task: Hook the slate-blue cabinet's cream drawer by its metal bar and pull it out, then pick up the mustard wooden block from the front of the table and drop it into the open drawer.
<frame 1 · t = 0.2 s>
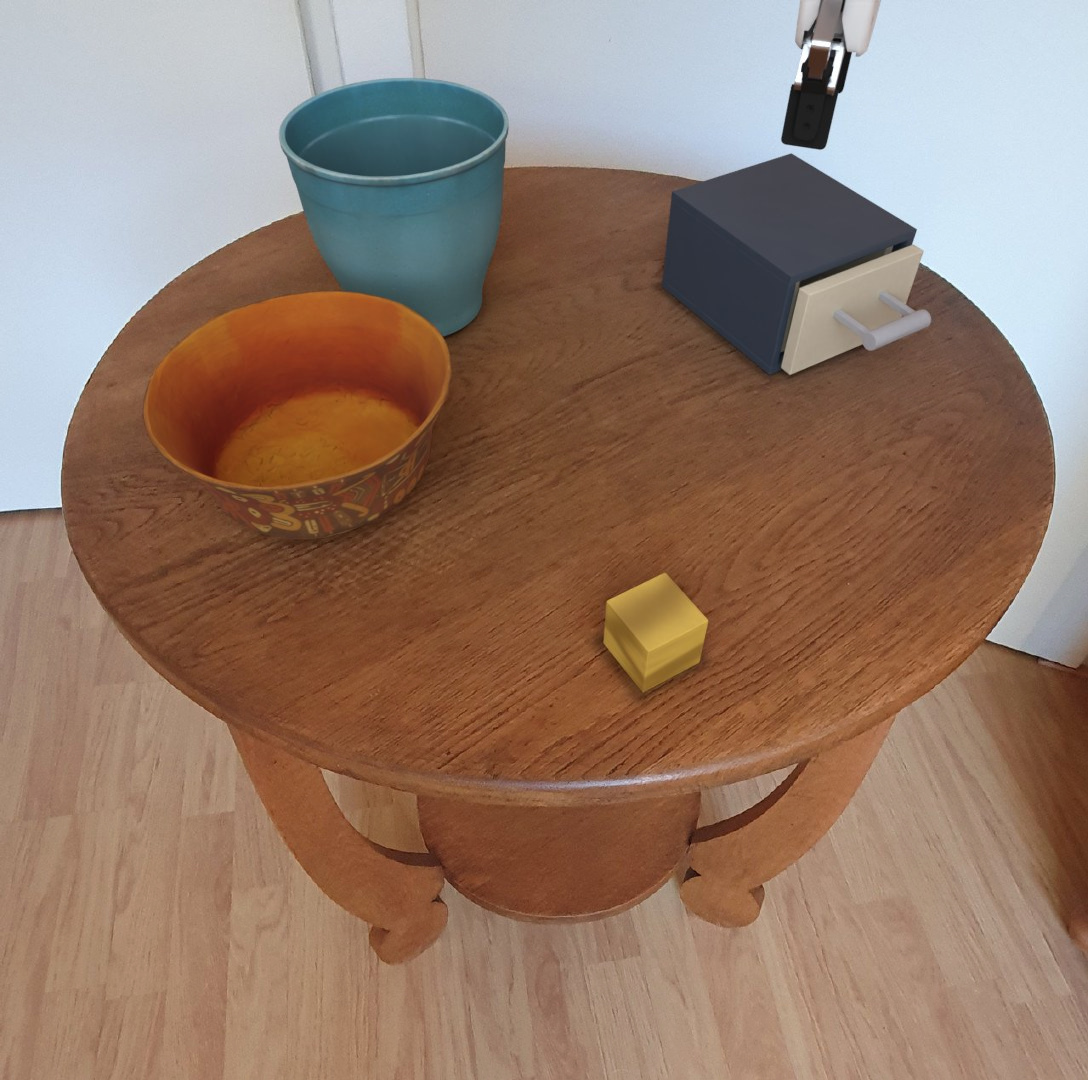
hand: (812, 116, 71), 19 cm above the table, tool pointing down, fingers open, 9 cm apart
drawer: (817, 285, 81), point 5 cm above the table, slide at 0.5 cm
block: (651, 652, 61), on the table
cabinet: (771, 306, 87), on the table
bowl: (324, 480, 72), on the table
flower pot: (416, 307, 87), on the table
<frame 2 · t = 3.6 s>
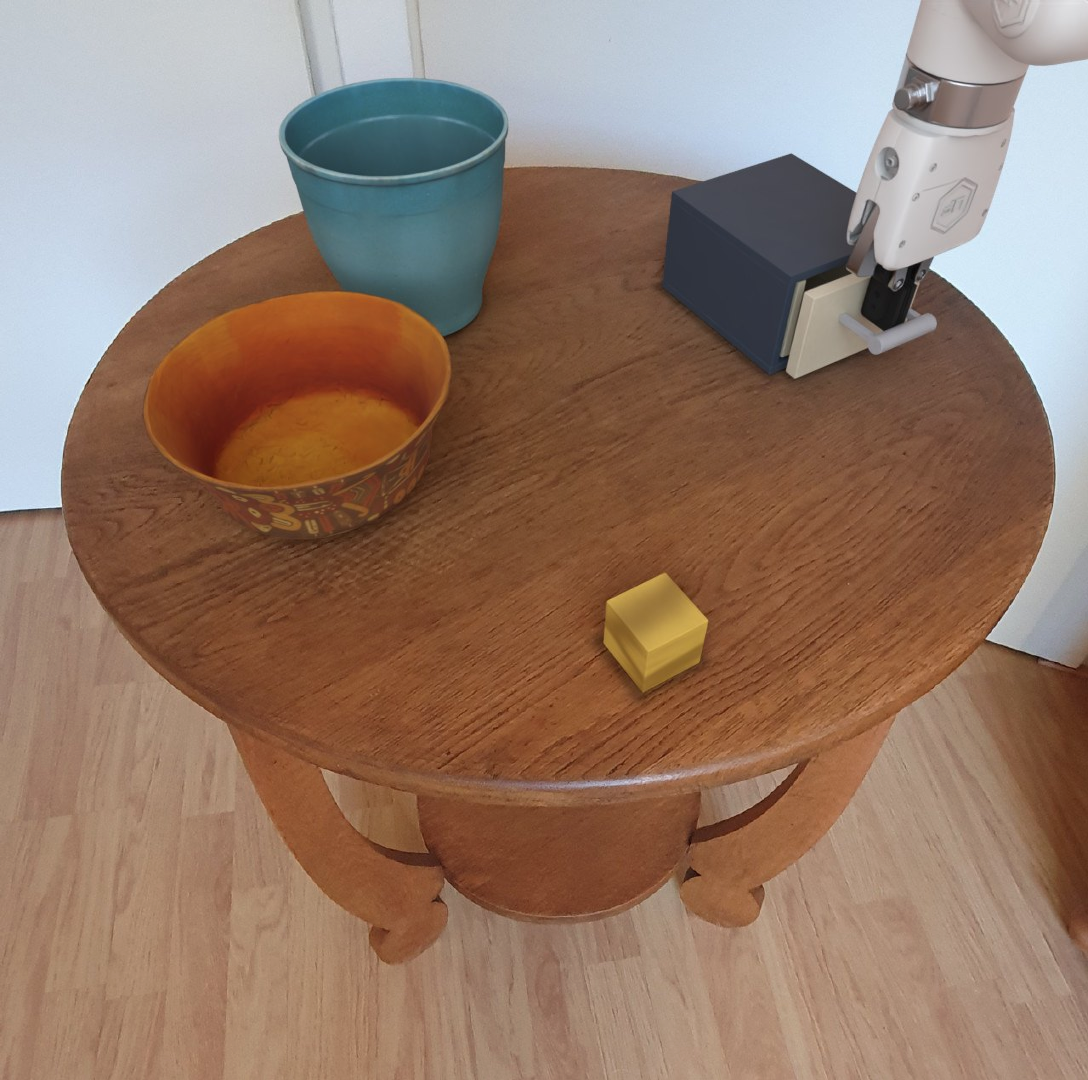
hand: (880, 320, 76), 6 cm above the table, tool pointing down, fingers closed
drawer: (821, 289, 80), point 5 cm above the table, slide at 1.1 cm
everything else where it was.
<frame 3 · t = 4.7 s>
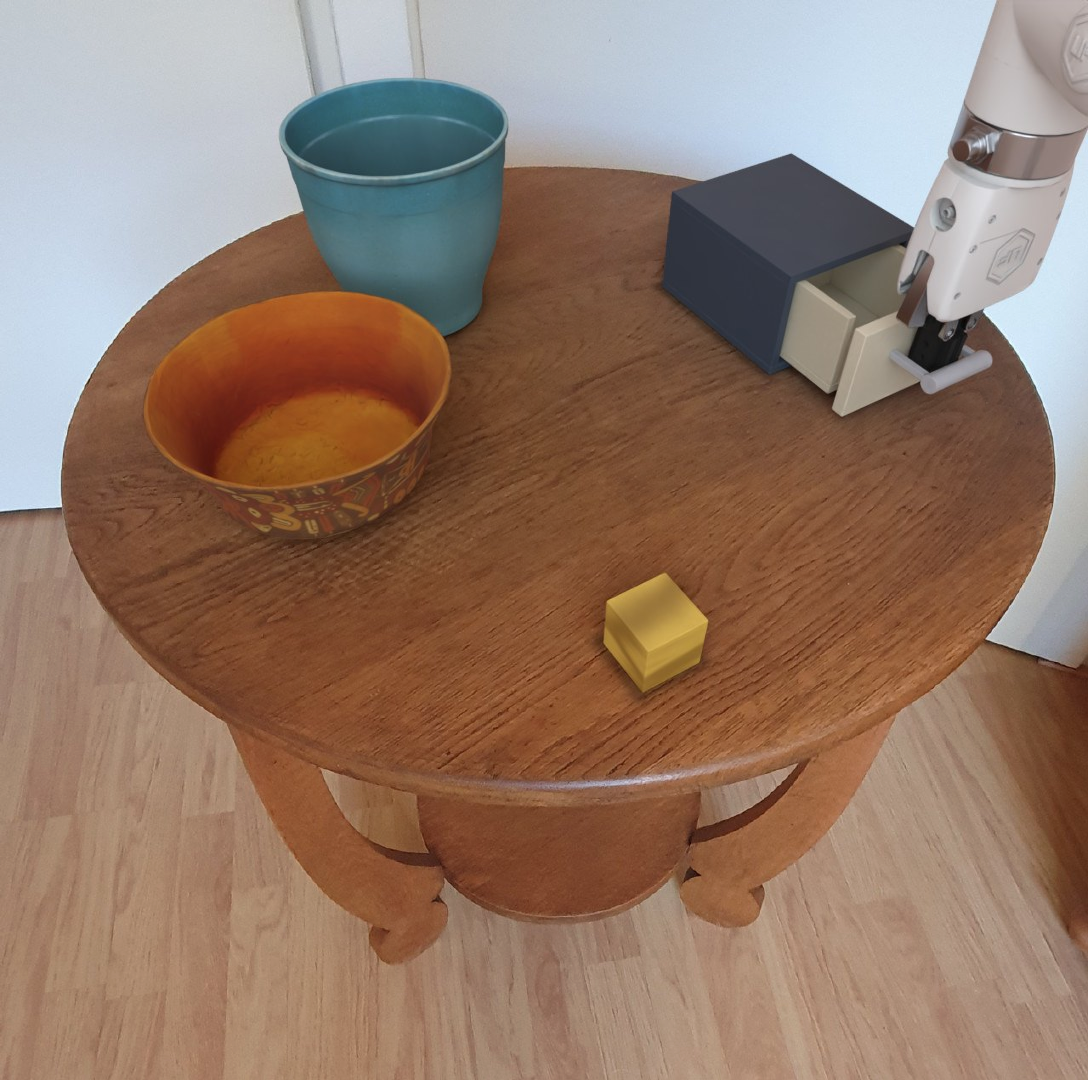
hand: (928, 368, 74), 4 cm above the table, tool pointing down, fingers closed
drawer: (868, 322, 77), point 5 cm above the table, slide at 6.7 cm, touching gripper
everything else where it was.
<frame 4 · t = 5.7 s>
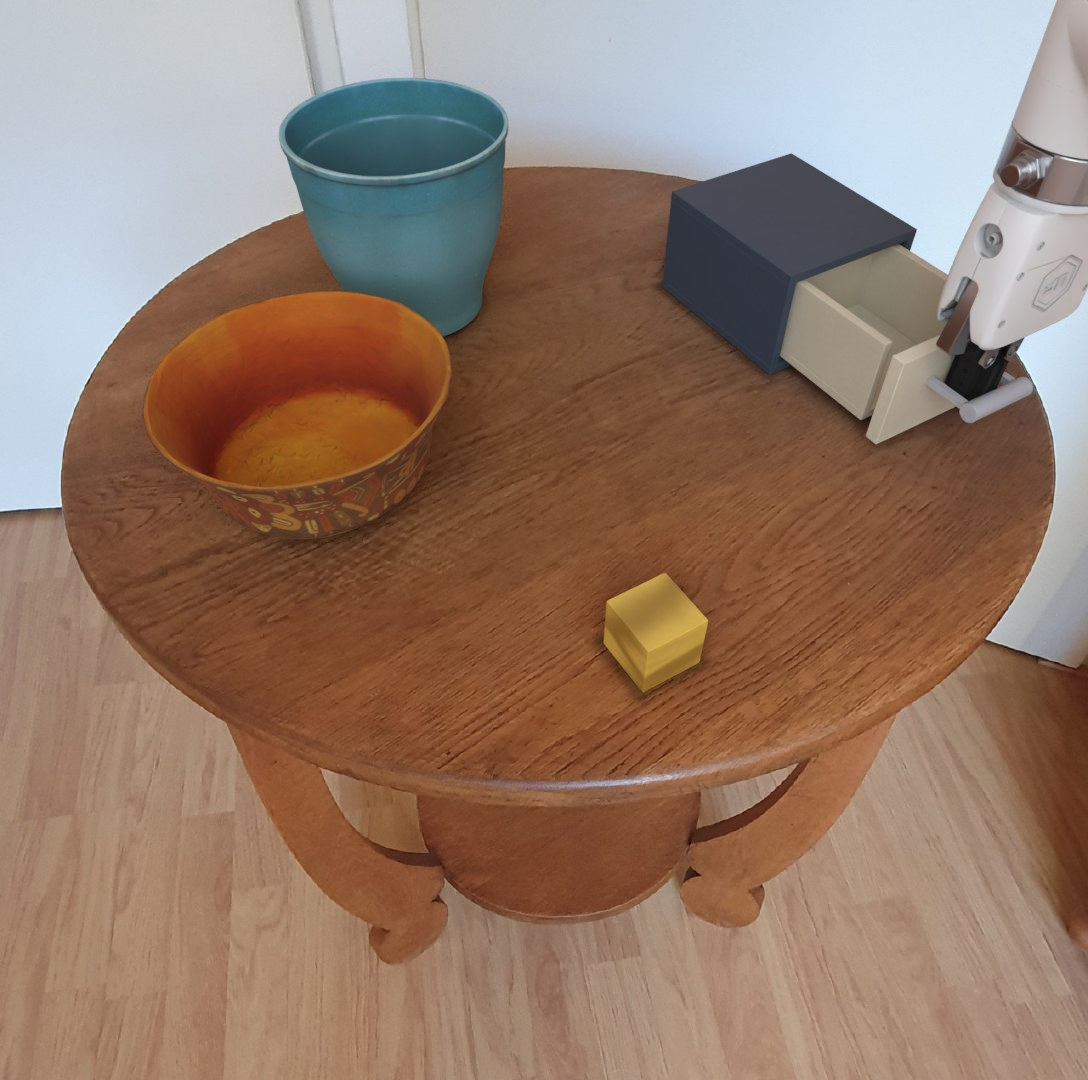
hand: (965, 395, 71), 4 cm above the table, tool pointing down, fingers closed
drawer: (902, 346, 75), point 5 cm above the table, slide at 10.5 cm, touching gripper
everything else where it was.
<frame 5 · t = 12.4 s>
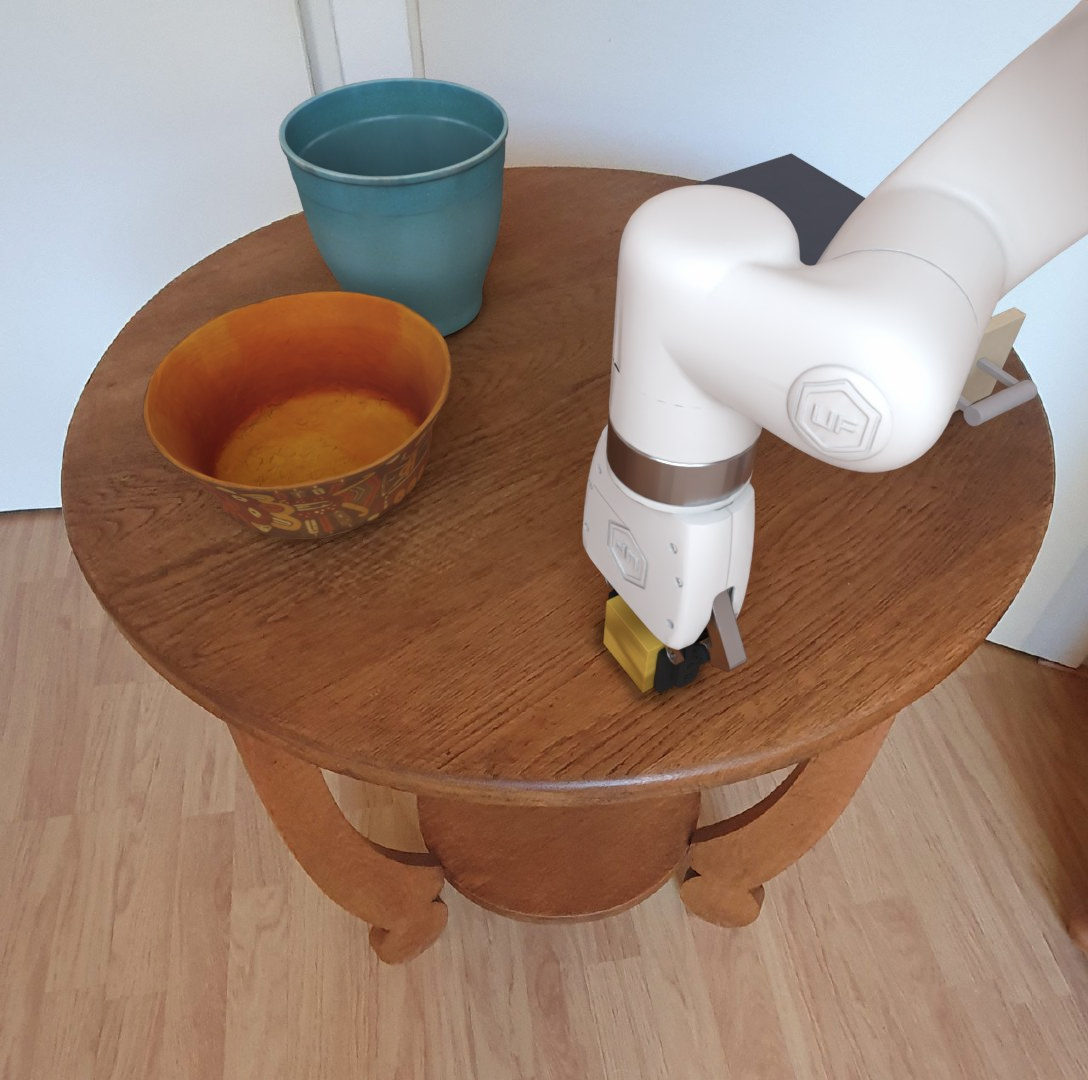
hand: (651, 649, 61), 0 cm above the table, tool pointing down, fingers closed on block, 4 cm apart
drawer: (906, 349, 75), point 5 cm above the table, slide at 10.9 cm
block: (651, 652, 61), on the table, touching gripper
everything else where it was.
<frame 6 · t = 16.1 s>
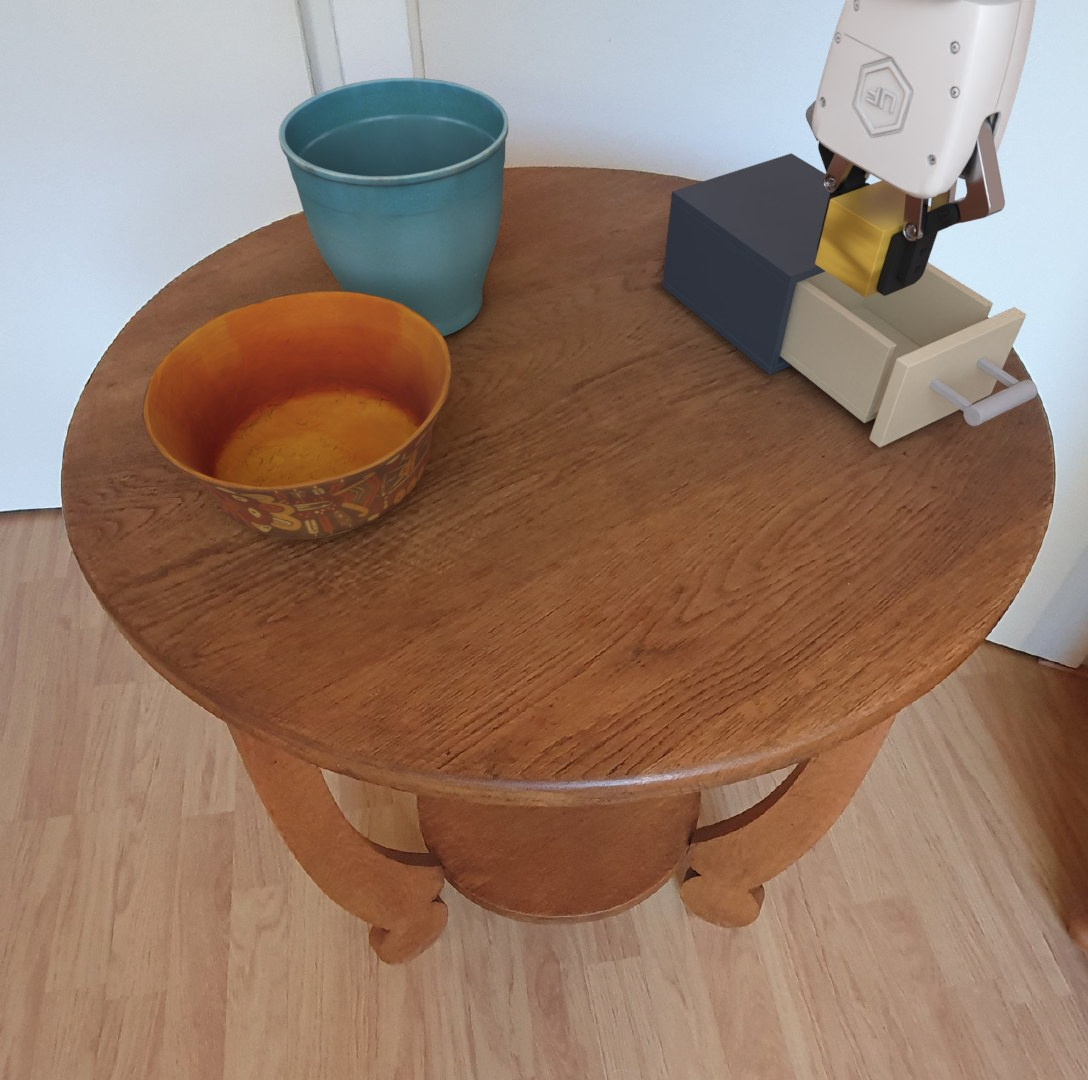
hand: (866, 264, 60), 17 cm above the table, tool pointing down, fingers closed on block, 4 cm apart
block: (864, 270, 60), point 17 cm above the table, touching gripper
everything else where it was.
when the fingers open (8 cm above the table, at t = 20.1 s): block drops 5 cm, resting on drawer.
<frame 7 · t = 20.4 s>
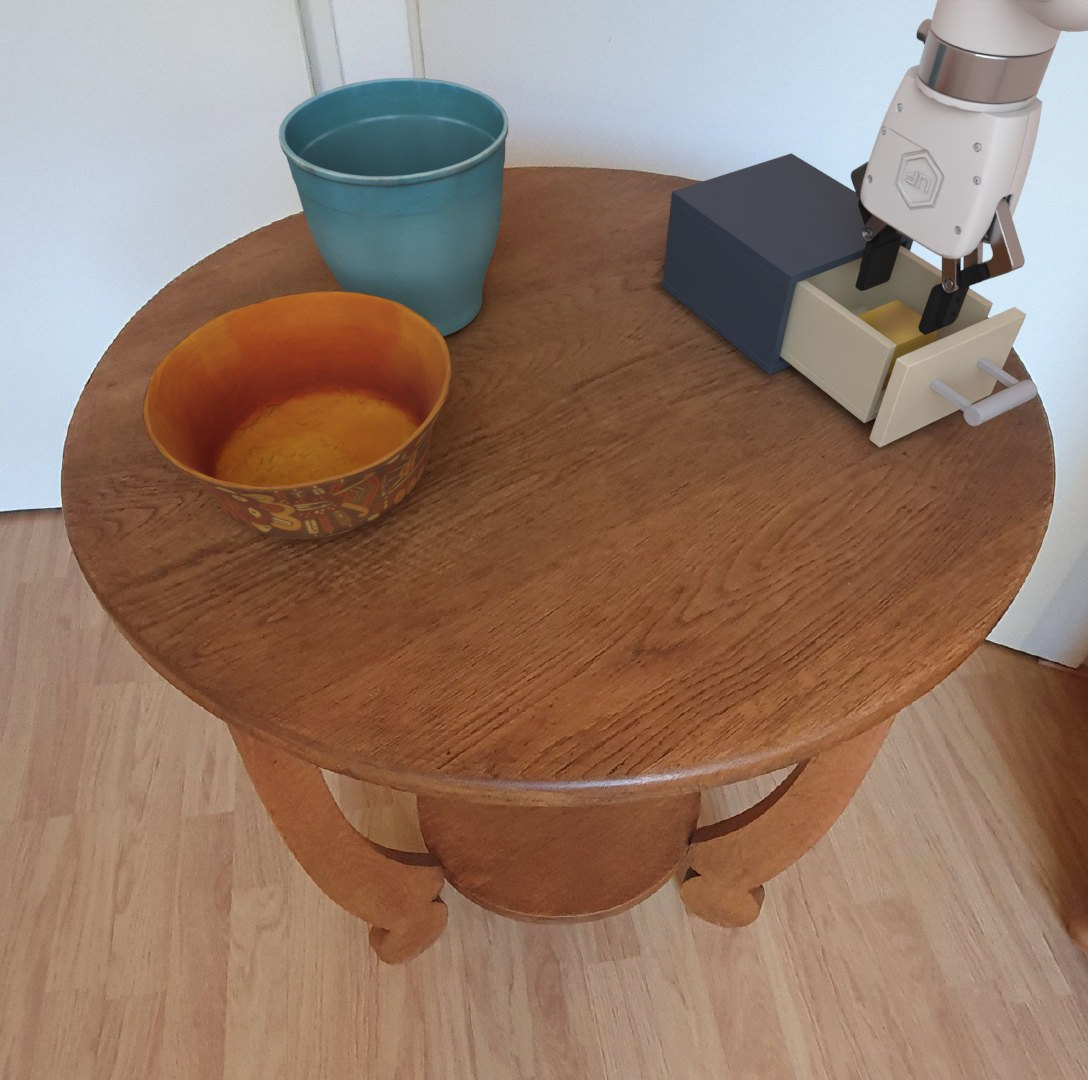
hand: (903, 304, 73), 8 cm above the table, tool pointing down, fingers open, 6 cm apart
drawer: (906, 349, 75), point 5 cm above the table, slide at 10.9 cm, touching block
block: (882, 367, 78), point 2 cm above the table, touching drawer
everything else where it was.
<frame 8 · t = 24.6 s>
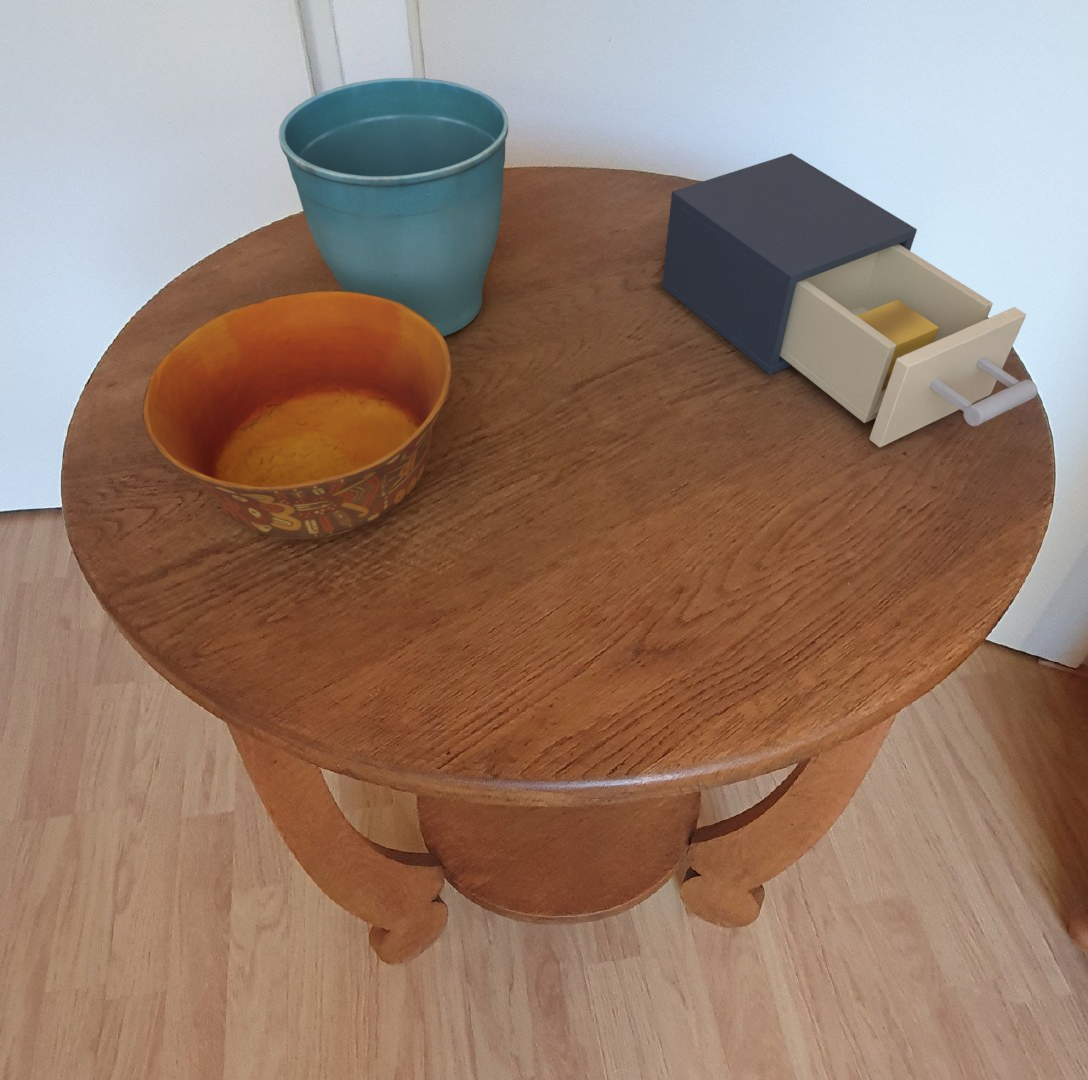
nothing on the table moved.
at the end: drawer slide at 10.9 cm; block inside the target area in the drawer (1.1 cm from its centre), point 2.0 cm above the cabinet's base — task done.
